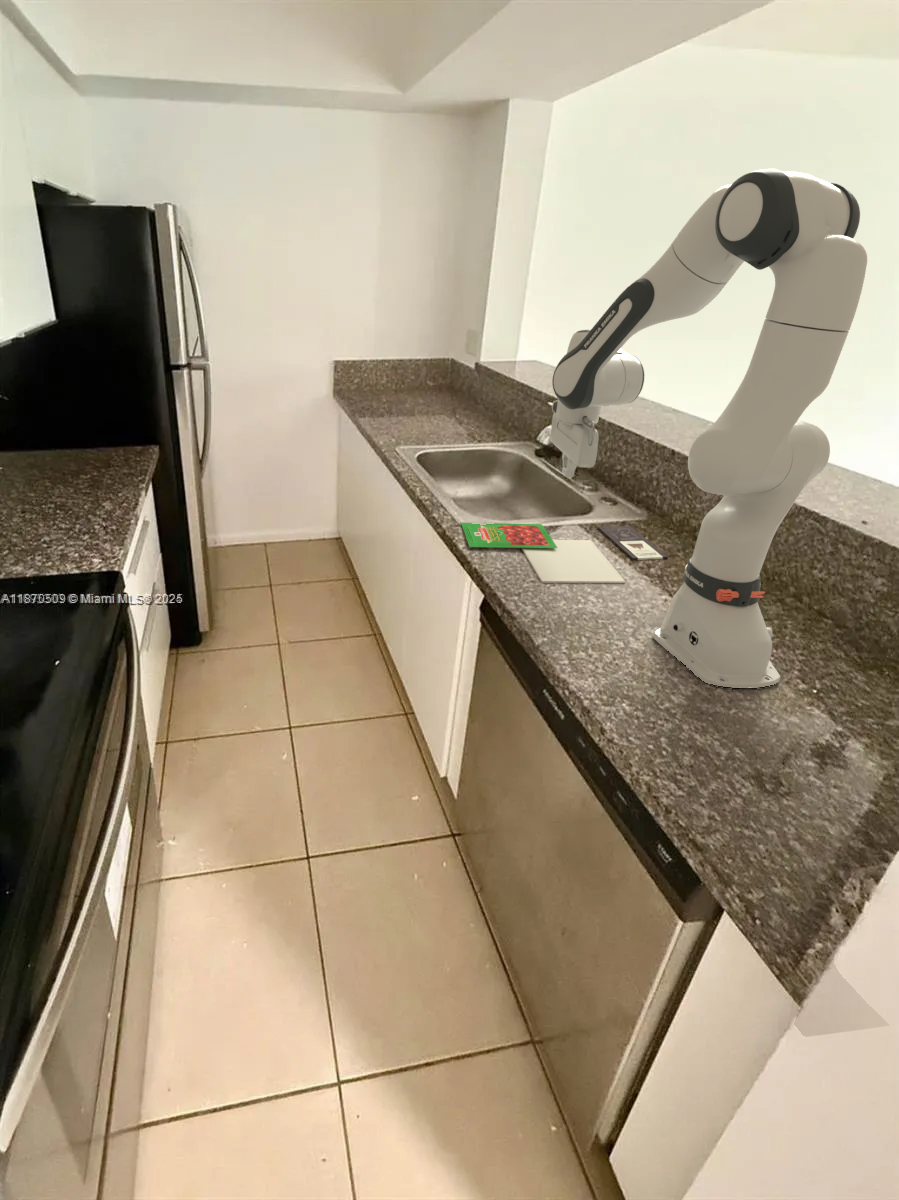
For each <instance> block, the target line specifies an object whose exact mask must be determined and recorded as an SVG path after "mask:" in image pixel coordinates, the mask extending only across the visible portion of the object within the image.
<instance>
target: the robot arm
mask: <svg viewBox="0 0 899 1200" xmlns="http://www.w3.org/2000/svg"><path fill="white" fill-rule="evenodd" d="M860 209H861V208H860V205H859V203H858V200H857V198H856V197H855V195H853V193H851V191H849V190H848V189H847V188H846V187H844V186H842V185H841V184H838V183H834V182H828V181H825V180H823V179H820V178H817V177H815V176H814V175H811V174H809V173H803V172H797V171H782V170H780V169H777V168H765V169H758V170H753V171H750V172H748V173H745V174H743V175H742V176H740V177H738V178H737V179H736V180H735V181H734V182H733V183H731V184H726V185H724V186H721V187H719V188H717V189H716V190H715V191H713V193H712V194H711V195H710V196H709V197H708V198H707V199H705V201H704V202H703V203H702V204H701V205H700V207H698V209H697V210H696V211H695V212H694V214H693V215H692V216H691V217H690V218H689V219H688V220H687V222H686V223H685V225H684V226H683V227H682V228H681V230H680V232H678V234H677V235H676V237H675V238H674V239H673V241H672V243H671V244H670V245H669V247H668V248H667V249H666V251H665V252H663V254H662V255H661V257H659V259H658V260H657V261H656V262H655V263H654V264H653V265H652V266H651V267H650V268H649V269H648V270H647V271H646V272H645V273H644V274H642V275H641V276H640V277H639V278H638V279H636V280H634V282H632V283H631V284H630V285H629V286H627V287H626V288H625V289H624V290H623V291H622V292H621V293H620V294H619V296H617V297H616V299H615V300H614V301H613V302H612V304H610V306H609V307H608V308H607V309H606V311H605V312H604V313H603V315H602V316H601V317H600V318H599V319H598V321H596V323H595V324H594V325H593V326H592V328H591V329H583V330H582V329H581V330H578V331H576V332H574V333H573V334H572V336H571V339H570V341H569V344H568V348H567V351H566V354H565V355H564V356H563V357H562V358H561V359H560V360H559V362H558V363H557V365H556V366H555V369H554V372H553V376H552V380H551V381H552V382H551V383H552V389H553V392H554V394H555V396H556V398H557V399H556V400H553V401H552V406H551V410H552V412H553V414H552V420H551V426H550V427H551V429H550V430H551V431H550V439H551V444H553V445H554V446H555V447H556V448H557V449H558V450H559V451H560V452H561V453H562V455H561V456H562V470H561V473H562V474H564V476H565V477H566V478H573V477H574V476H575V472H576V470H577V468H594V466H595V465H596V462H597V461H596V460H597V454H598V447H599V432H598V430H597V429H596V428H595V425H596V424H598V423H599V421H600V420H599V418H600V415H601V414H600V413H601V408H602V407H608V406H623V405H627V404H631V403H633V402H634V401H635V400H636V399H638V397H639V395H640V394H641V393H642V390H643V387H644V383H645V370H644V369H645V368H644V367H643V366H644V365H643V364H642V363H641V360H640V359H639V358H638V357H637V356H635V355H633V354H630V353H629V352H627V351H625V350H623V349H622V347H623V346H624V345H625V344H626V343H627V342H628V341H629V339H630V338H632V337H633V336H634V335H636V334H637V333H640V332H641V331H642V330H644V329H647V328H649V327H652V326H655V325H657V324H661V323H664V322H668V321H672V320H678V319H682V318H686V317H689V316H693V315H695V314H697V313H699V312H700V311H701V310H703V309H704V308H706V306H708V305H709V304H710V303H712V301H713V300H714V299H715V298H716V297H717V296H718V295H719V294H720V293H721V291H723V289H724V288H725V287H726V285H727V284H728V283H729V281H730V280H731V278H732V277H733V276H734V275H735V273H736V272H737V271H738V270H739V268H740V267H741V266H742V265H743V263H744V262H745V263H747V264H748V265H750V266H751V267H753V268H755V270H760V271H761V270H764V269H766V268H769V269H770V270H771V272H772V273H773V277H774V283H775V284H774V289H773V294H772V298H771V300H770V303H769V306H768V309H767V312H766V315H765V319H764V321H763V324H762V328H761V331H760V334H759V336H758V340H757V342H756V345H755V349H754V351H753V354H752V356H751V359H750V362H749V364H748V365H749V366H748V368H747V370H746V373H745V374H744V377H743V379H742V381H741V383H740V384H739V387H738V388H737V390H736V391H735V393H734V395H733V396H732V398H731V399H730V401H729V402H728V404H727V405H726V407H725V409H724V410H723V412H722V413H721V414H720V416H719V417H717V419H716V421H714V423H713V424H711V426H710V427H709V428H707V429H706V430H705V431H704V432H702V433H701V434H700V435H698V437H696V439H695V440H694V441H693V442H692V445H691V446H690V449H689V453H688V458H687V459H688V460H687V468H688V473H689V476H690V478H691V480H692V482H693V483H694V484H695V486H696V487H698V489H700V490H702V491H703V492H705V493H708V494H713V495H718V496H723V497H722V499H720V501H719V502H718V503H717V504H716V505H715V506H714V507H713V508H712V509H710V510H709V512H707V514H706V515H705V516H704V518H703V519H702V522H701V524H700V528H699V530H698V535H697V538H696V542H695V546H694V549H693V551H692V556H691V557H690V558H689V559H688V561H687V563H686V564H685V568H684V573H683V577H682V578H683V583H682V585H681V586H680V588H678V590H677V591H676V593H675V594H674V595H673V596H672V599H671V600H670V603H669V605H668V607H667V610H666V613H665V615H664V619H663V621H662V623H661V626H660V627H658V628H657V629H656V630H655V631H654V633H653V635H652V638H653V639H654V640H655V641H656V642H657V643H658V644H659V645H661V647H663V648H664V649H665V650H666V651H667V652H668V651H669V652H668V653H670V654H671V655H672V656H673V657H674V656H675V657H676V658H677V660H678V662H680V661H681V662H682V663H683V664H684V665H686V667H685V668H686V669H688V668H689V669H688V670H689V671H690V670H691V671H692V672H693V673H694V674H693V673H692V672H691V671H690V672H691V673H692V674H693V675H695V677H697V678H698V677H699V678H700V679H701V680H702V681H701V680H700V679H699V678H698V679H699V680H700V681H701V682H703V681H704V682H706V683H708V685H710V684H713V685H718V686H723V687H724V686H725V687H732V688H739V687H740V688H744V687H745V688H748V687H765V686H769V687H771V686H770V685H773V686H775V685H777V684H778V683H779V682H780V681H781V675H780V674H779V672H778V670H777V669H776V668H775V667H776V666H774V665H773V663H772V662H771V660H770V659H771V656H772V650H773V640H772V638H773V633H774V632H773V629H772V628H771V627H769V626H767V625H766V623H765V619H764V616H763V614H762V611H761V609H760V606H759V603H758V602H759V601H760V598H764V596H762V595H765V594H766V591H765V590H764V591H763V590H762V591H761V585H762V584H761V575H760V573H761V571H762V568H763V565H764V562H765V560H766V557H767V554H768V552H769V549H770V546H771V543H772V541H773V538H774V536H775V534H776V532H777V530H778V529H779V527H780V525H781V523H782V522H783V520H784V519H785V517H786V516H787V514H788V512H789V511H790V510H791V508H792V506H793V505H794V504H795V502H796V500H798V498H799V496H800V495H801V493H802V492H803V491H804V490H805V488H806V487H807V486H808V485H809V484H810V482H812V481H813V480H814V479H815V478H816V477H818V476H819V475H820V474H821V473H822V472H823V471H824V469H825V468H826V466H827V464H828V462H829V458H830V455H831V453H830V452H831V449H830V448H831V446H830V442H829V438H828V437H827V434H826V433H825V432H824V431H823V430H822V429H821V428H820V427H818V426H817V425H815V424H812V423H809V422H806V421H802V420H799V419H800V417H801V416H802V415H803V413H804V412H805V411H806V409H808V407H809V406H810V405H811V403H813V402H814V401H815V400H816V399H817V398H819V397H820V396H821V395H822V394H823V393H824V392H825V390H826V389H828V388H827V387H828V386H829V384H830V381H831V379H832V376H833V374H834V371H835V368H836V367H837V364H838V360H839V358H840V355H841V352H842V351H843V347H844V345H845V343H846V340H847V337H848V336H849V331H850V330H851V327H852V324H853V321H854V318H855V315H856V313H857V308H858V306H859V302H860V298H861V295H862V292H863V286H864V281H865V278H866V276H865V275H866V272H867V265H868V253H867V251H866V249H865V247H864V246H863V245H862V244H861V243H860V242H859V241H857V240H856V239H854V238H855V236H856V234H857V232H858V228H859V226H860V220H861V210H860ZM675 657H674V658H675ZM676 658H675V659H676ZM681 662H680V663H681ZM682 663H681V664H682ZM683 664H682V665H683ZM684 665H683V666H684ZM704 682H703V683H704ZM706 683H705V684H706ZM776 683H777V684H776ZM774 684H775V685H774ZM713 685H712V686H713ZM718 686H717V687H718ZM723 687H722V688H723ZM732 688H731V689H732ZM765 688H766V687H765Z"/></svg>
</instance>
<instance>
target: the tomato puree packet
mask: <svg viewBox="0 0 899 1200" xmlns="http://www.w3.org/2000/svg"><path fill="white" fill-rule="evenodd" d="M472 523H473V522H460V524H461V527H462V529H463V532H464V535H465V539H466V541H467V544H468V546H469V548H510V549H511V548H515V549H520V548H557V546H556V545H555V543H554V542H553V540H554V539H552V537H551V536H550V534H549V532H548V531H547V530H546V528H545V527H544V525H543V524H542V523H511V522H510V523H509V522H508V523H506V522H503V523H500V522H495V523H494V522H493V523H494V524H486V525H480V524H472Z"/></svg>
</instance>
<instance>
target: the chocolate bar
mask: <svg viewBox="0 0 899 1200" xmlns="http://www.w3.org/2000/svg"><path fill="white" fill-rule="evenodd" d="M596 529H597V530H598V531H599V532H600V531H601V532H602V533H601V532H600V533H601V534H603V536H605V537H606V538H607V537H608V538H609V539H610V540H611V541H612V543H613V542H614V543H615V544H616V545H617V546H618V547H619V548H620V549H621V550H622V551H621V550H620V549H619V548H618V547H617V546H616V545H615V544H614V543H613V544H614V545H615V546H616V547H617V548H618V549H619V550H620V551H621V552H622V553H623V554H625V555H626V556H627V557H628V556H629V557H630V558H631V559H630V558H629V557H628V558H629V559H630V560H631V561H645V560H647V561H649V560H668V558H669V556H668V555H667V554H665V553H664V552H663V551H662V550H660V548H658V547H657V546H656V545H654V544H653V542H652V543H651V542H650V541H649V539H647V538H646V537H645V536H643V535H642V534H641V533H640V532H639V531H637V530H636V529H635V528H634V527H632V525H622V526H621V525H619V526H618V525H617V526H615V525H614V526H597V528H596ZM608 538H607V539H608ZM609 539H608V540H609ZM610 540H609V541H610ZM611 541H610V542H611Z"/></svg>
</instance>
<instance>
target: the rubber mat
mask: <svg viewBox="0 0 899 1200" xmlns="http://www.w3.org/2000/svg"><path fill="white" fill-rule="evenodd" d="M552 540H553V542H554V543H555V545H556V546H557V548H521V550H522V552H523V554H524V556H525V557H526V559H527V560H528V562H529V564H530V566H531V567H532V569H533V571H534V572H535V575H536V576H537V577H538V579H539V581H540V582H541V584H625V583H626V581H625V579H624V578H623V577H622V576H621V574H620V573H619V572H618V571H617V570H616V568H615V567H614V566H613V565H612V564H611V562H609V560H608V559H607V558H606V557H605V555H604V554H603V553H602V551H601V550H600V549H599V548H598V547H597V546H596V544H595V543H594V542H593V541H592V540H591V539H589V540H588V539H587V540H586V539H552Z"/></svg>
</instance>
